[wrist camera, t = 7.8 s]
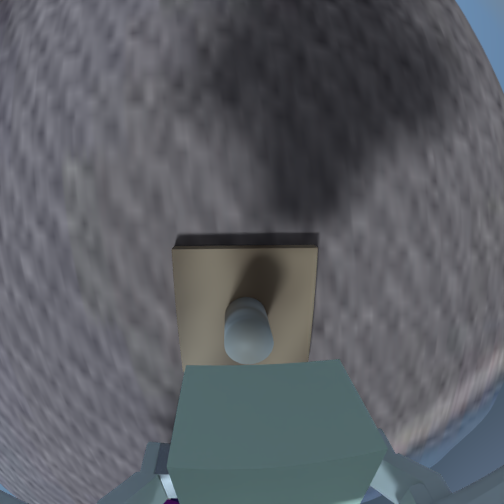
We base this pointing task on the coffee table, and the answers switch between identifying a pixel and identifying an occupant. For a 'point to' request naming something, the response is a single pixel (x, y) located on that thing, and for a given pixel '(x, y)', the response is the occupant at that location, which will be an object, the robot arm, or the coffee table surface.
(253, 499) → the pale aqua cube
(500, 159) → the coffee table surface
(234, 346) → the stand
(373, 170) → the coffee table surface
